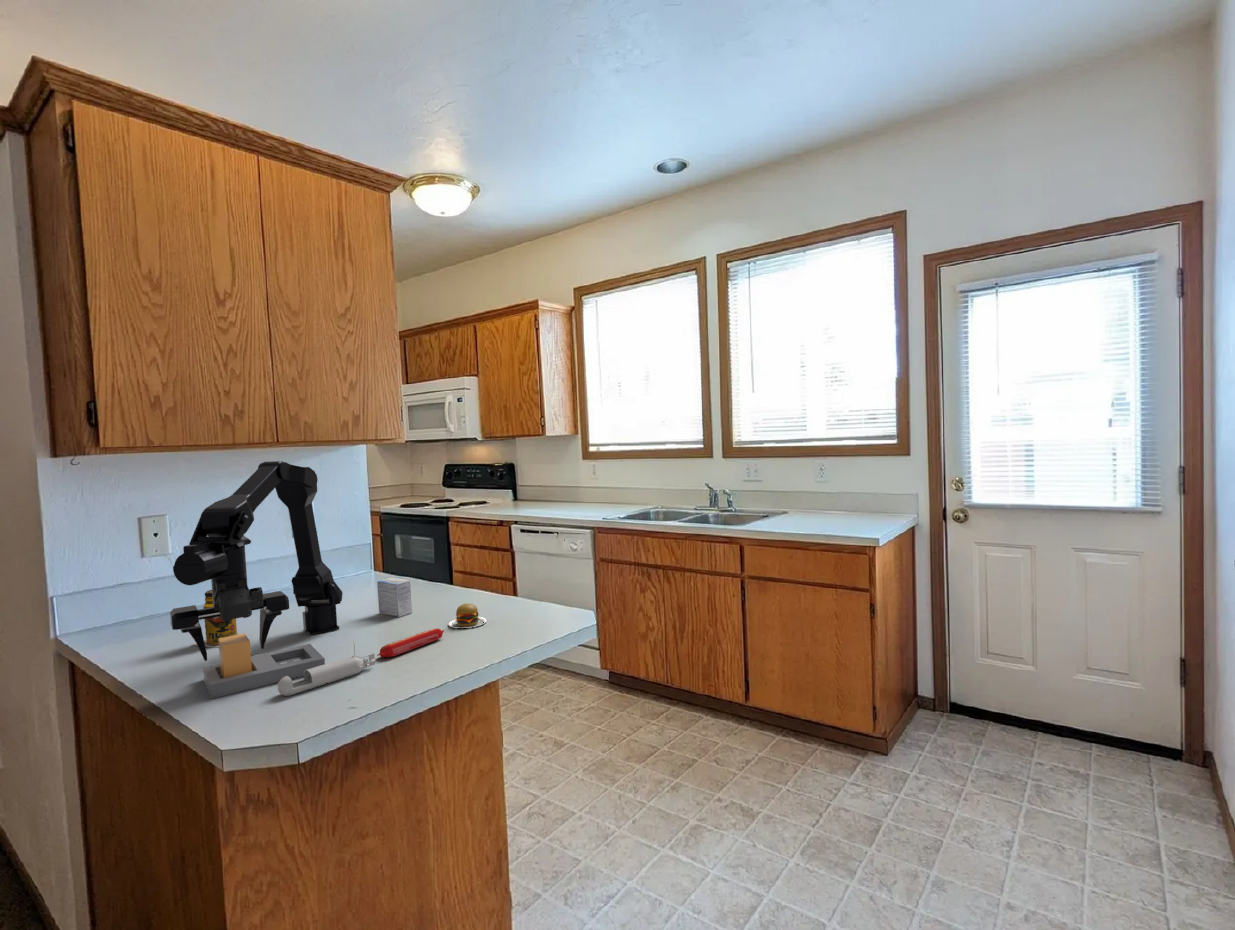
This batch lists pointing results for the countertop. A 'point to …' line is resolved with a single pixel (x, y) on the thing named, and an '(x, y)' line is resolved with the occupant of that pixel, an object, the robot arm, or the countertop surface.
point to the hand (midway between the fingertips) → (234, 654)
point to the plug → (234, 655)
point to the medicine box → (394, 597)
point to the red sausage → (410, 642)
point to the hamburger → (467, 616)
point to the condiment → (216, 625)
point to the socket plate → (263, 670)
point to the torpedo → (325, 674)
